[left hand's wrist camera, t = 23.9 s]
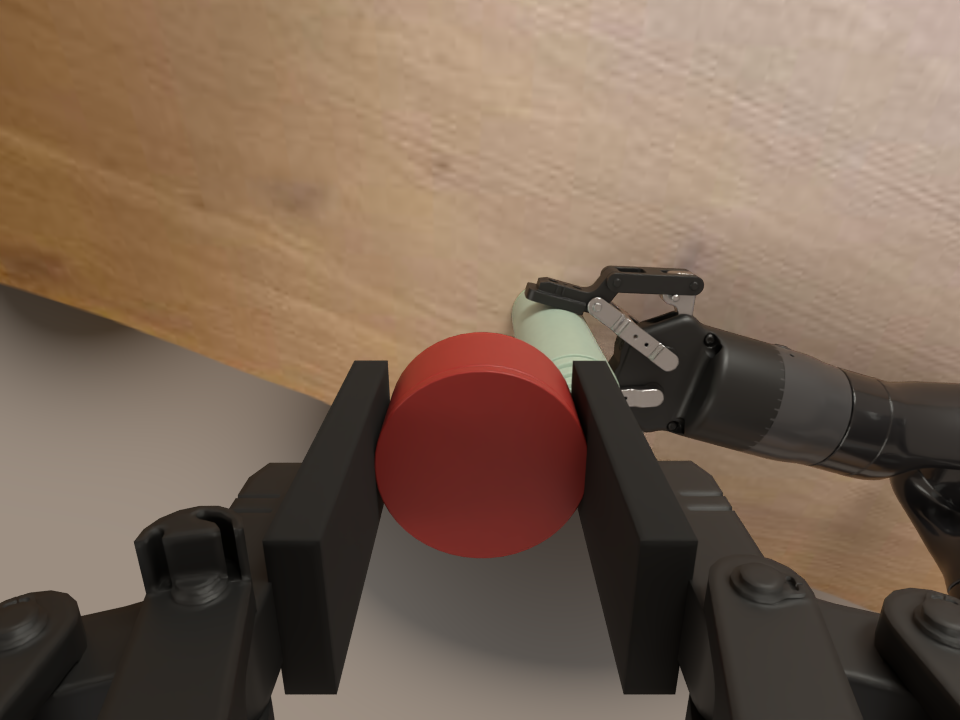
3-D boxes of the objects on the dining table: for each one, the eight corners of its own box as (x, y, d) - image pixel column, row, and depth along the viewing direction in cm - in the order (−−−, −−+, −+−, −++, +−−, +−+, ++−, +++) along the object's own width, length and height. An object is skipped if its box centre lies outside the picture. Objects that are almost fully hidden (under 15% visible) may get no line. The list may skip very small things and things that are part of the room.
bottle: (587, 296, 47) (673, 430, 25) (560, 354, 48) (621, 526, 27) (526, 272, 46) (562, 389, 25) (501, 332, 48) (515, 490, 26)
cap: (470, 292, 14) (467, 325, 11) (612, 409, 15) (634, 459, 12) (353, 428, 15) (330, 481, 13) (491, 527, 16) (493, 592, 14)
